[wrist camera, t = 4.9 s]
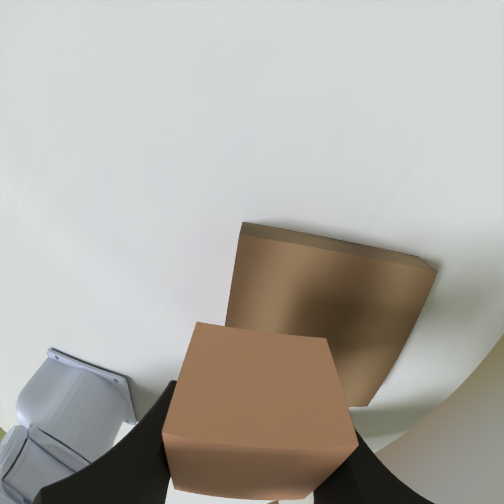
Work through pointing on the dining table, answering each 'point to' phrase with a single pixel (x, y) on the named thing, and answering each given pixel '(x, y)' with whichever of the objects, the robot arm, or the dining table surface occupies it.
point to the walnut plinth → (330, 299)
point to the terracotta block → (256, 416)
